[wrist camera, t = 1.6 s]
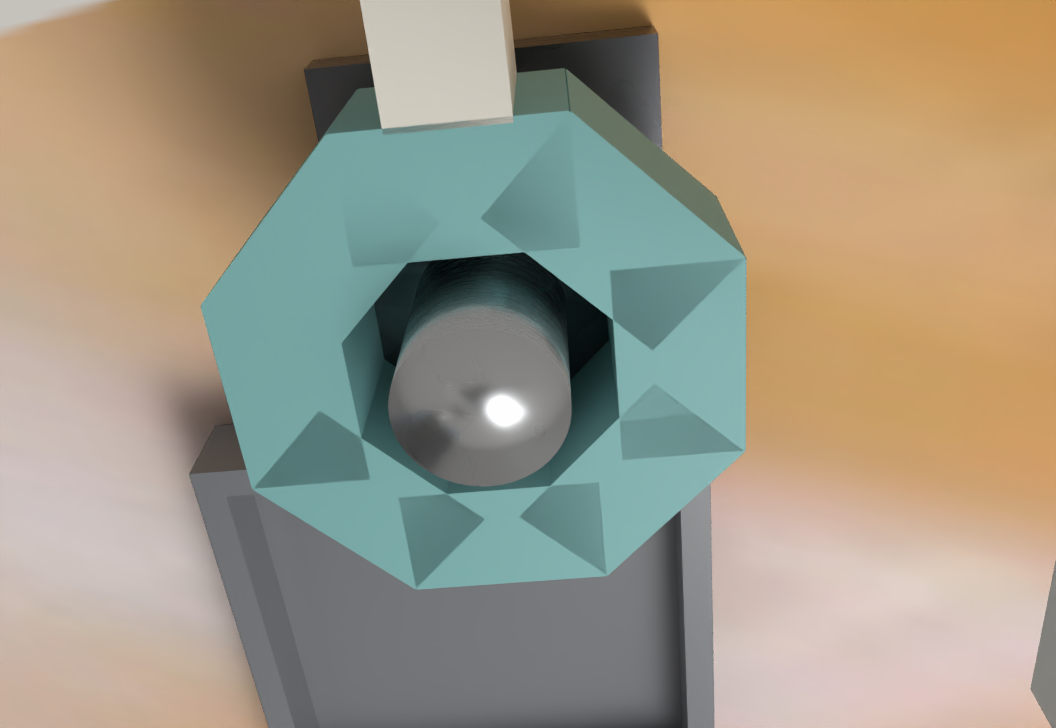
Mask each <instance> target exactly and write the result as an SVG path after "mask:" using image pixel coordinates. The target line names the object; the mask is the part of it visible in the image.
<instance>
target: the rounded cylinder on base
mask: <svg viewBox="0 0 1056 728" xmlns="http://www.w3.org/2000/svg"><path fill="white" fill-rule="evenodd" d="M513 41H514V51H515V61H516V70H517V73H521V72H531V71H541V70H551V69H561V68H565V69H567V70H568V71H569V72H571V73H572V74H573V75H574V76H575V77H577V78H578V79H579V80H580V81H581V82H582V83H584V84H585V85H586V86H587V87H588V88H589V89H591V90H592V91H593V92H594V93H595V94H597V95H598V96H599V97H600V98H601V99H602V100H604V101H605V102H606V103H607V104H608V105H609V106H611V107H612V108H613V109H614V110H615V111H617V112H618V113H619V114H620V115H621V116H622V117H624V118H625V119H626V120H627V121H628V122H629V123H631V124H632V125H633V126H634V127H635V128H637V129H638V130H639V131H640V132H641V133H642V134H644V135H645V136H646V137H647V138H648V139H649V140H651V141H652V142H653V143H654V144H655V145H657V146H658V147H659V148H660V149H661V150H662V129H661V102H660V75H659V48H658V33H657V31H656V29H655V28H654V26H645V27H636V28H626V29H616V30H606V31H596V32H586V33H577V34H567V35H557V36H547V37H537V38H527V39H518V40H513ZM304 72H305V77H306V82H307V87H308V92H309V97H310V102H311V107H312V112H313V117H314V122H315V127H316V132H317V137H318V142H319V141H320V139H321V138H322V137H323V135H324V134H325V133H326V131H327V130H328V128H329V127H330V126H331V124H332V123H333V122H334V120H335V119H336V117H337V116H338V115H339V113H340V112H341V111H342V109H343V108H344V106H345V105H346V104H347V102H348V101H349V100H350V98H351V97H352V96H353V94H354V93H355V91H356V90H358V89H360V88H370V87H375V86H374V81H373V75H372V69H371V63H370V57H369V55H360V56H350V57H340V58H331V59H321V60H313V61H312V62H311V63H310V64H309V65H308V66H307V67H306V68H305V69H304ZM374 307H375V313H376V318H377V323H378V328H379V334H380V339H381V344H382V349H383V355H384V359H385V360H386V361H388V362H389V363H391V364H392V365H394V366H395V367H396V369H395V373H394V376H393V380H392V384H391V388H390V393H389V400H388V411H389V419H390V422H391V426H392V429H393V432H394V434H395V436H396V438H397V440H398V442H399V443H400V445H401V447H402V448H403V449H404V450H405V452H406V453H407V454H408V455H409V456H410V457H411V458H412V459H413V460H414V461H415V462H416V463H417V464H418V465H420V466H421V467H423V468H424V469H425V470H427V471H429V472H430V473H432V474H434V475H436V476H438V477H440V478H442V479H445V480H448V481H451V482H454V483H458V484H463V485H469V486H496V485H503V484H507V483H511V482H514V481H517V480H520V479H522V478H525V477H527V476H529V475H530V474H532V473H534V472H536V471H537V470H539V469H540V468H542V467H543V466H544V465H545V464H546V463H547V462H549V461H550V460H551V459H552V457H553V456H554V455H555V454H556V453H557V452H558V450H559V449H560V447H561V446H562V444H563V442H564V440H565V438H566V436H567V433H568V430H569V427H570V422H571V415H572V407H571V387H570V380H571V379H572V378H573V377H574V376H575V375H576V374H577V373H578V372H579V371H580V370H581V369H582V368H583V367H584V366H585V364H586V363H587V362H588V361H589V360H590V359H591V358H592V357H593V356H594V355H595V354H596V353H597V352H598V351H599V350H600V349H601V348H602V347H603V346H604V345H605V344H606V343H607V342H608V341H609V333H608V319H607V315H606V314H604V313H603V312H602V311H601V310H599V309H598V308H597V307H595V306H594V305H593V304H591V303H590V302H589V301H587V300H586V299H585V298H584V297H582V296H581V295H580V294H578V293H577V292H576V291H574V290H573V289H572V288H571V287H569V286H568V285H567V284H565V283H564V282H563V281H561V280H560V279H559V278H557V277H556V276H555V275H554V274H552V273H551V272H550V271H548V270H547V269H546V268H544V267H543V266H542V265H541V264H539V263H538V262H537V261H535V260H534V259H533V258H531V257H530V256H529V255H528V254H526V253H525V252H521V253H510V254H498V255H487V256H476V257H465V258H454V259H443V260H432V261H420V262H409V263H407V264H406V265H405V266H404V268H403V269H402V270H401V271H400V272H399V274H398V275H397V276H396V277H395V279H394V280H393V281H392V282H391V283H390V285H389V286H388V287H387V288H386V289H385V291H384V292H383V293H382V294H381V296H380V297H379V298H378V299H377V300H376V302H375V303H374Z"/></svg>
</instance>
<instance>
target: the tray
mask: <svg viewBox="0 0 1056 728" xmlns="http://www.w3.org/2000/svg"><path fill="white" fill-rule="evenodd" d="M189 476H190V479H191V482H192V485H193V488H194V491H195V495H196V498H197V501H198V504H199V507H200V511H201V514H202V517H203V520H204V523H205V526H206V530H207V533H208V536H209V539H210V542H211V545H212V549H213V552H214V555H215V558H216V561H217V564H218V568H219V571H220V574H221V577H222V580H223V584H224V587H225V590H226V593H227V596H228V599H229V603H230V606H231V609H232V612H233V615H234V618H235V622H236V625H237V628H238V631H239V634H240V638H241V641H242V644H243V647H244V650H245V653H246V657H247V660H248V663H249V666H250V669H251V672H252V676H253V679H254V682H255V685H256V688H257V692H258V695H259V698H260V701H261V704H262V707H263V711H264V714H265V717H266V720H267V723H268V726H269V728H714V674H713V612H712V550H711V487H710V484H709V485H707V486H706V487H705V488H704V489H703V490H702V491H701V492H700V493H699V494H698V495H696V496H695V497H694V498H693V499H692V500H691V501H690V502H689V503H688V504H686V505H685V506H684V507H683V508H682V509H681V510H680V511H679V512H678V513H677V514H675V515H674V516H673V517H672V518H671V519H670V520H669V521H668V522H667V523H665V524H664V525H663V526H662V527H661V528H660V529H659V530H658V531H657V532H655V533H654V534H653V535H652V536H651V537H650V538H649V539H648V540H647V541H646V542H644V543H643V544H642V545H641V546H640V547H639V548H638V549H637V550H636V551H634V552H633V553H632V554H631V555H630V556H629V557H628V558H627V559H626V560H625V561H623V562H622V563H621V564H620V565H619V566H618V567H617V568H616V569H615V570H613V571H612V572H611V573H610V574H609V575H608V576H607V575H606V576H602V577H588V578H574V579H560V580H546V581H532V582H518V583H504V584H489V585H475V586H461V587H447V588H433V589H419V590H417V589H414V588H412V587H411V586H409V585H407V584H406V583H404V582H402V581H401V580H399V579H398V578H396V577H394V576H393V575H391V574H389V573H388V572H386V571H385V570H383V569H381V568H380V567H378V566H376V565H375V564H373V563H371V562H370V561H368V560H367V559H365V558H363V557H362V556H360V555H358V554H357V553H355V552H354V551H352V550H350V549H349V548H347V547H345V546H344V545H342V544H340V543H339V542H337V541H336V540H334V539H332V538H331V537H329V536H327V535H326V534H324V533H323V532H321V531H319V530H318V529H316V528H314V527H313V526H311V525H309V524H308V523H306V522H305V521H303V520H301V519H300V518H298V517H296V516H295V515H293V514H292V513H290V512H288V511H287V510H285V509H283V508H282V507H280V506H279V505H277V504H275V503H274V502H272V501H270V500H269V499H267V498H265V497H264V496H262V495H261V494H259V493H257V492H256V491H254V490H253V489H252V487H251V484H250V480H249V476H248V473H247V469H246V466H245V462H244V459H243V455H242V452H241V448H240V444H239V441H238V437H237V434H236V430H235V427H234V424H232V425H220V426H215V427H214V429H213V431H212V433H211V435H210V436H209V438H208V440H207V442H206V444H205V446H204V448H203V449H202V451H201V453H200V455H199V457H198V459H197V460H196V462H195V464H194V466H193V468H192V470H191V472H190V473H189Z"/></svg>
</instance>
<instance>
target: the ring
mask: <svg viewBox="0 0 1056 728" xmlns="http://www.w3.org/2000/svg"><path fill="white" fill-rule="evenodd" d="M360 4H361V10H362V16H363V22H364V28H365V34H366V40H367V45H368V51H369V57H370V63H371V69H372V75H373V81H374V86H375V87H370V88H360V89H358V90H356V91H355V93H354V94H353V96H352V97H351V98H350V100H349V101H348V102H347V104H346V105H345V106H344V108H343V109H342V111H341V112H340V113H339V115H338V116H337V117H336V119H335V120H334V122H333V123H332V124H331V126H330V127H329V128H328V130H327V131H326V133H325V134H324V135H323V137H322V138H321V139H320V141H319V142H318V144H317V145H316V146H315V148H314V149H313V150H312V152H311V153H310V155H309V156H308V157H307V159H306V160H305V161H304V163H303V164H302V165H301V167H300V168H299V170H298V171H297V172H296V174H295V175H294V176H293V178H292V179H291V181H290V182H289V183H288V185H287V186H286V187H285V189H284V190H283V192H282V193H281V194H280V196H279V197H278V198H277V200H276V201H275V203H274V204H273V205H272V207H271V208H270V209H269V211H268V212H267V214H266V215H265V216H264V218H263V219H262V220H261V222H260V223H259V224H258V226H257V227H256V229H255V230H254V231H253V233H252V234H251V235H250V237H249V238H248V240H247V241H246V242H245V244H244V245H243V247H242V248H241V249H240V251H239V252H238V254H237V255H236V257H235V258H234V259H233V261H232V262H231V264H230V265H229V266H228V268H227V269H226V271H225V272H224V273H223V275H222V276H221V278H220V279H219V281H218V282H217V283H216V285H215V286H214V288H213V289H212V290H211V292H210V293H209V295H208V296H207V297H206V299H205V300H204V302H203V303H202V305H201V309H202V313H203V316H204V320H205V324H206V327H207V331H208V334H209V338H210V341H211V345H212V348H213V352H214V356H215V359H216V363H217V366H218V370H219V373H220V377H221V380H222V384H223V388H224V391H225V395H226V398H227V402H228V405H229V409H230V412H231V416H232V420H233V423H234V427H235V430H236V434H237V437H238V441H239V444H240V448H241V452H242V455H243V459H244V462H245V466H246V469H247V473H248V476H249V480H250V484H251V487H252V489H253V490H254V491H256V492H257V493H259V494H261V495H262V496H264V497H265V498H267V499H269V500H270V501H272V502H274V503H275V504H277V505H279V506H280V507H282V508H283V509H285V510H287V511H288V512H290V513H292V514H293V515H295V516H296V517H298V518H300V519H301V520H303V521H305V522H306V523H308V524H309V525H311V526H313V527H314V528H316V529H318V530H319V531H321V532H323V533H324V534H326V535H327V536H329V537H331V538H332V539H334V540H336V541H337V542H339V543H340V544H342V545H344V546H345V547H347V548H349V549H350V550H352V551H354V552H355V553H357V554H358V555H360V556H362V557H363V558H365V559H367V560H368V561H370V562H371V563H373V564H375V565H376V566H378V567H380V568H381V569H383V570H385V571H386V572H388V573H389V574H391V575H393V576H394V577H396V578H398V579H399V580H401V581H402V582H404V583H406V584H407V585H409V586H411V587H412V588H414V589H417V590H419V589H433V588H447V587H461V586H475V585H489V584H504V583H518V582H532V581H546V580H560V579H574V578H588V577H602V576H606V575H607V576H608V575H609V574H610V573H611V572H612V571H613V570H615V569H616V568H617V567H618V566H619V565H620V564H621V563H622V562H623V561H625V560H626V559H627V558H628V557H629V556H630V555H631V554H632V553H633V552H634V551H636V550H637V549H638V548H639V547H640V546H641V545H642V544H643V543H644V542H646V541H647V540H648V539H649V538H650V537H651V536H652V535H653V534H654V533H655V532H657V531H658V530H659V529H660V528H661V527H662V526H663V525H664V524H665V523H667V522H668V521H669V520H670V519H671V518H672V517H673V516H674V515H675V514H677V513H678V512H679V511H680V510H681V509H682V508H683V507H684V506H685V505H686V504H688V503H689V502H690V501H691V500H692V499H693V498H694V497H695V496H696V495H698V494H699V493H700V492H701V491H702V490H703V489H704V488H705V487H706V486H707V485H709V484H710V483H711V482H712V481H713V480H714V479H715V478H716V477H717V476H719V475H720V474H721V473H722V472H723V471H724V470H725V469H726V468H727V467H729V466H730V465H731V464H732V463H733V462H734V461H735V460H736V459H737V458H738V457H740V456H741V455H742V454H743V453H744V452H745V450H746V257H745V255H744V253H743V250H742V248H741V246H740V244H739V242H738V240H737V238H736V236H735V234H734V232H733V230H732V228H731V226H730V223H729V221H728V219H727V217H726V215H725V213H724V211H723V209H722V207H721V205H720V203H719V201H718V199H717V196H715V195H714V194H713V193H712V192H711V191H709V190H708V189H707V188H706V187H705V186H704V185H702V184H701V183H700V182H699V181H698V180H697V179H695V178H694V177H693V176H692V175H691V174H689V173H688V172H687V171H686V170H685V169H684V168H682V167H681V166H680V165H679V164H678V163H677V162H675V161H674V160H673V159H672V158H671V157H669V156H668V155H667V154H666V153H665V152H664V151H662V150H661V149H660V148H659V147H658V146H657V145H655V144H654V143H653V142H652V141H651V140H649V139H648V138H647V137H646V136H645V135H644V134H642V133H641V132H640V131H639V130H638V129H637V128H635V127H634V126H633V125H632V124H631V123H629V122H628V121H627V120H626V119H625V118H624V117H622V116H621V115H620V114H619V113H618V112H617V111H615V110H614V109H613V108H612V107H611V106H609V105H608V104H607V103H606V102H605V101H604V100H602V99H601V98H600V97H599V96H598V95H597V94H595V93H594V92H593V91H592V90H591V89H589V88H588V87H587V86H586V85H585V84H584V83H582V82H581V81H580V80H579V79H578V78H577V77H575V76H574V75H573V74H572V73H571V72H569V71H568V70H567V69H565V68H561V69H551V70H541V71H531V72H521V73H517V70H516V61H515V51H514V41H513V31H512V22H511V12H510V2H509V0H360ZM521 252H525V253H526V254H528V255H529V256H530V257H531V258H533V259H534V260H535V261H537V262H538V263H539V264H541V265H542V266H543V267H544V268H546V269H547V270H548V271H550V272H551V273H552V274H554V275H555V276H556V277H557V278H559V279H560V280H561V281H563V282H564V283H565V284H567V285H568V286H569V287H571V288H572V289H573V290H574V291H576V292H577V293H578V294H580V295H581V296H582V297H584V298H585V299H586V300H587V301H589V302H590V303H591V304H593V305H594V306H595V307H597V308H598V309H599V310H601V311H602V312H603V313H604V314H606V315H607V319H608V333H609V341H608V342H607V343H606V344H605V345H604V346H603V347H602V348H601V349H600V350H599V351H598V352H597V353H596V354H595V355H594V356H593V357H592V358H591V359H590V360H589V361H588V362H587V363H586V364H585V366H584V367H583V368H582V369H581V370H580V371H579V372H578V373H577V374H576V375H575V376H574V377H573V378H572V379H571V380H570V387H571V407H572V415H571V422H570V427H569V430H568V433H567V436H566V438H565V440H564V442H563V444H562V446H561V447H560V449H559V450H558V452H557V453H556V454H555V455H554V456H553V457H552V459H551V460H550V461H549V462H547V463H546V464H545V465H544V466H543V467H542V468H540V469H539V470H537V471H536V472H534V473H532V474H530V475H529V476H527V477H525V478H522V479H520V480H517V481H514V482H511V483H507V484H503V485H496V486H469V485H463V484H458V483H454V482H451V481H448V480H445V479H442V478H440V477H438V476H436V475H434V474H432V473H430V472H429V471H427V470H425V469H424V468H423V467H421V466H420V465H418V464H417V463H416V462H415V461H414V460H413V459H412V458H411V457H410V456H409V455H408V454H407V453H406V452H405V450H404V449H403V448H402V447H401V445H400V443H399V442H398V440H397V438H396V436H395V434H394V432H393V429H392V426H391V422H390V419H389V411H388V400H389V393H390V388H391V384H392V380H393V376H394V373H395V369H396V367H395V366H394V365H392V364H391V363H389V362H388V361H386V360H385V359H384V355H383V349H382V344H381V339H380V334H379V328H378V323H377V318H376V313H375V307H374V303H375V302H376V300H377V299H378V298H379V297H380V296H381V294H382V293H383V292H384V291H385V289H386V288H387V287H388V286H389V285H390V283H391V282H392V281H393V280H394V279H395V277H396V276H397V275H398V274H399V272H400V271H401V270H402V269H403V268H404V266H405V265H406V264H407V263H409V262H420V261H432V260H443V259H454V258H465V257H476V256H487V255H498V254H510V253H521Z"/></svg>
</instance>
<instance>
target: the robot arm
mask: <svg viewBox="0 0 1056 728" xmlns="http://www.w3.org/2000/svg"><path fill="white" fill-rule="evenodd" d="M1031 691H1032V693H1033V694H1034V696H1035V698H1036V700H1037V702H1038V704H1039V705H1040V707H1041V709H1042V711H1043V713H1044V714H1045V716H1046V718H1047V720H1048V722H1049V723H1050V725H1051V727H1052V728H1056V562H1055V567H1054V572H1053V577H1052V582H1051V587H1050V592H1049V597H1048V602H1047V608H1046V613H1045V618H1044V623H1043V628H1042V633H1041V638H1040V643H1039V648H1038V653H1037V658H1036V663H1035V668H1034V673H1033V679H1032V684H1031Z"/></svg>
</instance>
